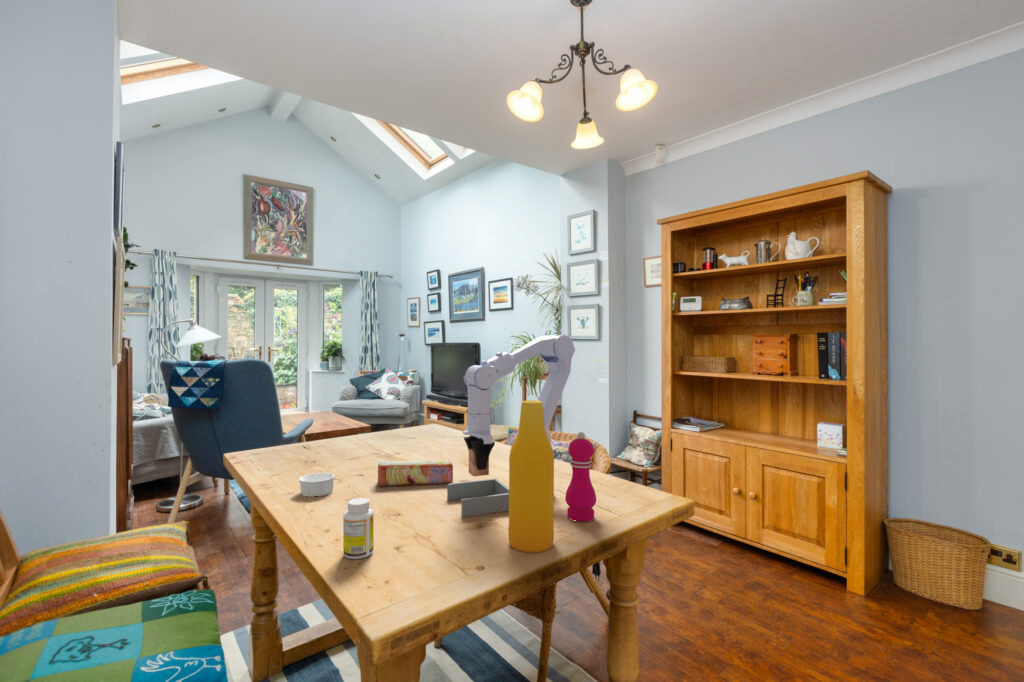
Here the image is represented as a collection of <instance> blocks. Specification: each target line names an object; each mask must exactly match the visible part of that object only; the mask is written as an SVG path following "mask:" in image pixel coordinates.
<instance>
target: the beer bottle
mask: <svg viewBox="0 0 1024 682" xmlns="http://www.w3.org/2000/svg"><path fill="white" fill-rule="evenodd" d="M516 435H517V436H516ZM516 435H515V436H516V438H515V440H514V442H513V444H512V443H511V444H512V447H511V446H510V447H511V448H510V450H509V457H508V466H509V469H508V472H509V473H508V476H509V477H508V479H509V481H508V488H509V511H508V530H507V532H508V541H509V542H508V543H509V545H510V546H511V547H512V548H513V549H515V550H517V551H519V552H524V553H542V552H545V551H548V550H549V549H550V548H552V545H553V544H554V541H555V540H554V539H555V537H554V536H555V534H554V533H555V530H554V525H555V524H554V523H555V522H554V515H555V514H554V512H555V510H554V504H555V503H554V502H555V500H554V499H555V498H554V497H555V493H554V492H555V490H554V489H555V453H554V449H553V447H552V444H551V440H550V441H549V439H548V437H547V434H546V431H545V424H544V414H543V404H542V401H538V400H533V399H531V400H530V399H529V400H522V401H521V406H520V415H519V423H518V431H517V434H516Z"/></svg>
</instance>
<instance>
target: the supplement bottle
mask: <svg viewBox="0 0 1024 682" xmlns="http://www.w3.org/2000/svg"><path fill="white" fill-rule="evenodd" d="M374 517H375V515H374V510H373V509H372V508H370V499H368V498H366V497H365V498H364V497H359V498H358V497H357V498H351V499H350V500H348V501H347V510H346V511H345V512H344V513H343V519H342V520H343V529H342V530H343V532H342V533H343V534H342V536H343V555H344V557H345V558H347V559H349V560H361V559H364V558H367V557H369V556H371V555H372V553H373V552H374V545H375V544H374V534H375V533H374Z"/></svg>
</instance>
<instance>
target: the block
mask: <svg viewBox="0 0 1024 682" xmlns="http://www.w3.org/2000/svg"><path fill="white" fill-rule="evenodd" d="M489 472H490V458H489V459H488V463H487V467H486V469H484V470H478V469H477V466H476V457H475V452H474V449H473V448H472V449H469V450H468V474H470V475H471V476H472V477H482V476H489V475H490V473H489Z"/></svg>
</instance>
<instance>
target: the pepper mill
mask: <svg viewBox="0 0 1024 682" xmlns="http://www.w3.org/2000/svg"><path fill="white" fill-rule="evenodd" d="M567 452H568V455H569V456H570V457H571V458H570V459H569V461H570V464H569V465H570V466H571V468H572V469H571V470H572V476H571V480H570V482H569V484H568V487H567V489H566V491H565V496H564V497H565V498H564V499H565V503H566V505H568V508H567V511H566V513H567V515H566V517H567V518H568V519H569V518H570V519H572V520H571V521H573V520H576V521H575V522H577V521H588V522H591V521H593V520H594V519H595V509H593V508H594V506H595V505H596V503H597V494H596V491H595V488H594V486H593V484H592V481H591V477H590V475H591V474H590V470H591V468H592V465H593V464H592V462H593V461H592V459H591V458H592V457H593V456H594V453H595V448H594V445H593V443H592V442H591V441H590V440H589V439H587V438H586V434H585V432H583V431H580V432H578V434H577V438H575V439H572V440H571V441H570V443H569V444H568V451H567ZM570 519H569V520H570ZM592 519H593V520H592ZM590 520H591V521H590Z"/></svg>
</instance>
